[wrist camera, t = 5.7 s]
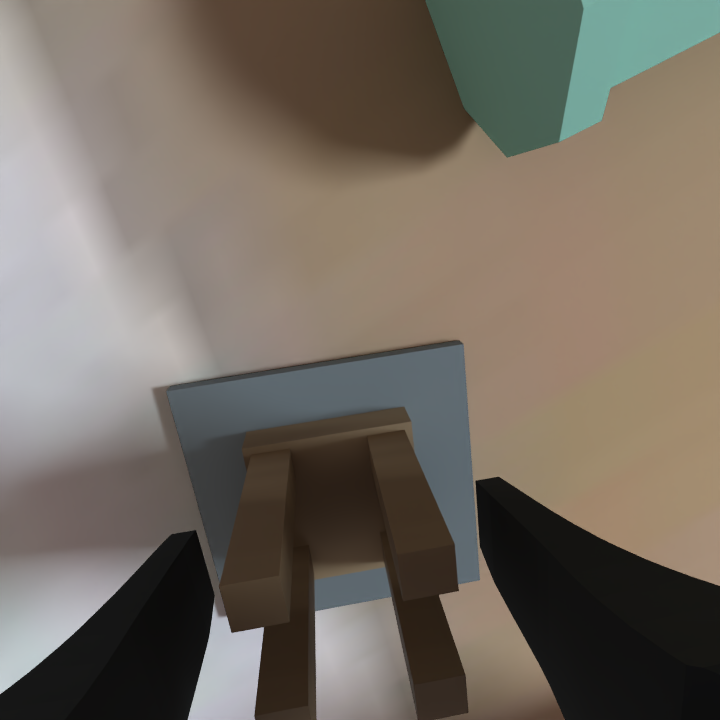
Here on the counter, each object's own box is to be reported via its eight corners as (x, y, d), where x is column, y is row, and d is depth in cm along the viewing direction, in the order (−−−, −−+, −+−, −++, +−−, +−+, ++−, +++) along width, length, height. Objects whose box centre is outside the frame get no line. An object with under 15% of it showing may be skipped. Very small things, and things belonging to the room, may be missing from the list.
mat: (475, 571, 16) (479, 580, 15) (233, 616, 15) (231, 626, 15) (459, 340, 13) (463, 344, 13) (170, 386, 13) (166, 391, 12)
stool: (418, 537, 15) (479, 718, 9) (275, 562, 14) (255, 762, 9) (404, 406, 13) (465, 532, 8) (246, 431, 13) (203, 579, 8)
